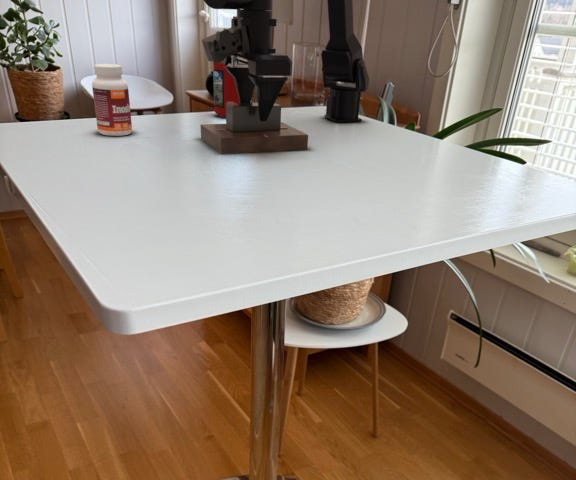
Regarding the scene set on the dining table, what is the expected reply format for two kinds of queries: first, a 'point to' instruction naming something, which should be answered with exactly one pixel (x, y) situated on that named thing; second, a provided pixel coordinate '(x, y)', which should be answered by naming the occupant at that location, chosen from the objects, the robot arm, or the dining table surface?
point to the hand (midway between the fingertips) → (253, 116)
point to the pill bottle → (111, 100)
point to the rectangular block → (251, 117)
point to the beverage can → (223, 89)
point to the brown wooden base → (253, 139)
